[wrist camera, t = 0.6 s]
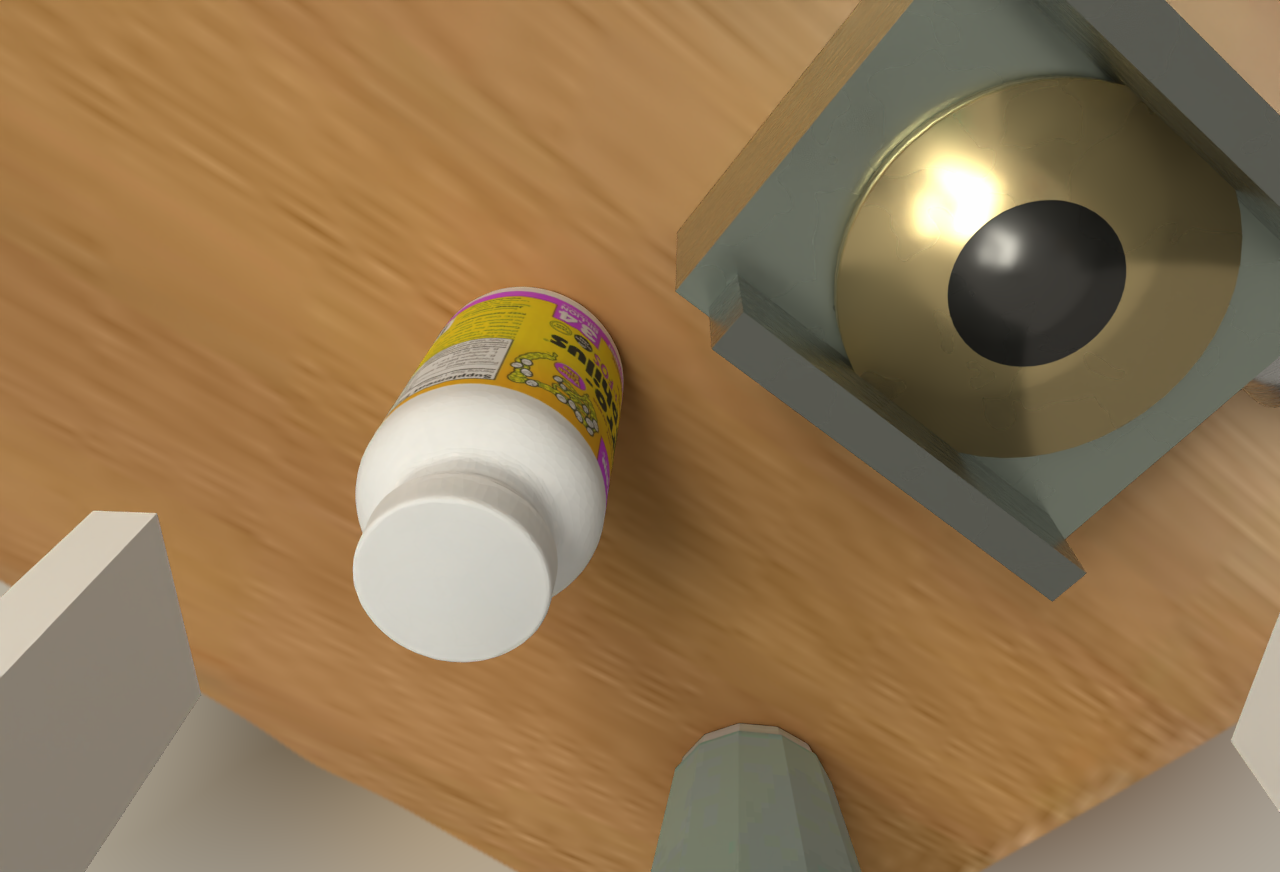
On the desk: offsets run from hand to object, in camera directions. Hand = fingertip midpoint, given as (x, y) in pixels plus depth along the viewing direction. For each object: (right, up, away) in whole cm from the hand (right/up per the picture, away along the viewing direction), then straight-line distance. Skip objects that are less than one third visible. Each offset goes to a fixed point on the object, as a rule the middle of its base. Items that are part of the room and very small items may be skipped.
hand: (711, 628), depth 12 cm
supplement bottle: (-5, +5, +23) cm, 23 cm away
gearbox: (+11, +8, +20) cm, 24 cm away
